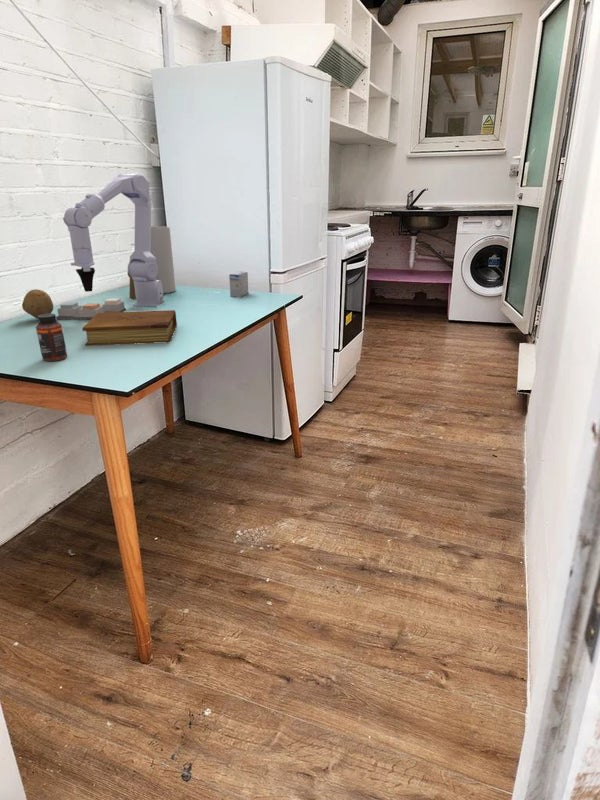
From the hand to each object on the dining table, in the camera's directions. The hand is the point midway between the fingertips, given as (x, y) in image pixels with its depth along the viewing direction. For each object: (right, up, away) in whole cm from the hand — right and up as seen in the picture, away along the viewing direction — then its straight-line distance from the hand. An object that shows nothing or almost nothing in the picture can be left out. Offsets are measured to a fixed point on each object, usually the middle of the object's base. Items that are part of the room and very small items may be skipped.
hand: (88, 291), depth 175 cm
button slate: (-8, -6, +4) cm, 11 cm away
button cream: (+5, -3, +10) cm, 11 cm away
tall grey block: (+12, +9, +44) cm, 47 cm away
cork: (+6, +4, +34) cm, 34 cm away
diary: (+20, -17, -18) cm, 32 cm away
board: (-2, -6, +7) cm, 10 cm away
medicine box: (+45, +5, +36) cm, 58 cm away
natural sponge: (-16, -9, +1) cm, 19 cm away
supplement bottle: (+6, -25, -38) cm, 46 cm away
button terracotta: (0, -6, +3) cm, 7 cm away
